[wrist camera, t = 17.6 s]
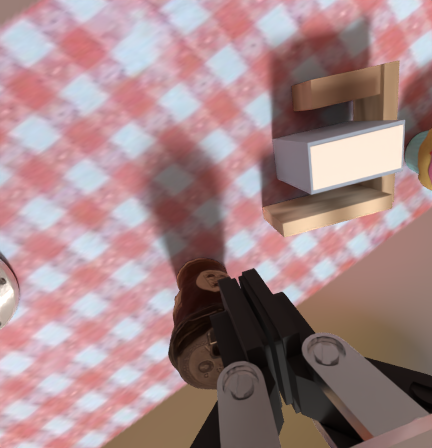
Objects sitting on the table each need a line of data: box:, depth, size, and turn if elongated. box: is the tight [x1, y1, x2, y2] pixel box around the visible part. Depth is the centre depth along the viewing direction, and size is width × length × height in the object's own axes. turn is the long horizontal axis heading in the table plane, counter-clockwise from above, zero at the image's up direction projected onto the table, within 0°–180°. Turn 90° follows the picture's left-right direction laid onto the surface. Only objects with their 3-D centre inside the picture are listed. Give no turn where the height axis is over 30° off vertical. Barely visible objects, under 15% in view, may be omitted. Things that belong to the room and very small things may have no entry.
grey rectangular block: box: [272, 120, 405, 195], centre depth 27 cm, size 9×4×8 cm, turn 102°
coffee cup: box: [168, 258, 231, 389], centre depth 28 cm, size 9×8×13 cm
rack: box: [262, 61, 399, 237], centre depth 28 cm, size 14×14×6 cm
